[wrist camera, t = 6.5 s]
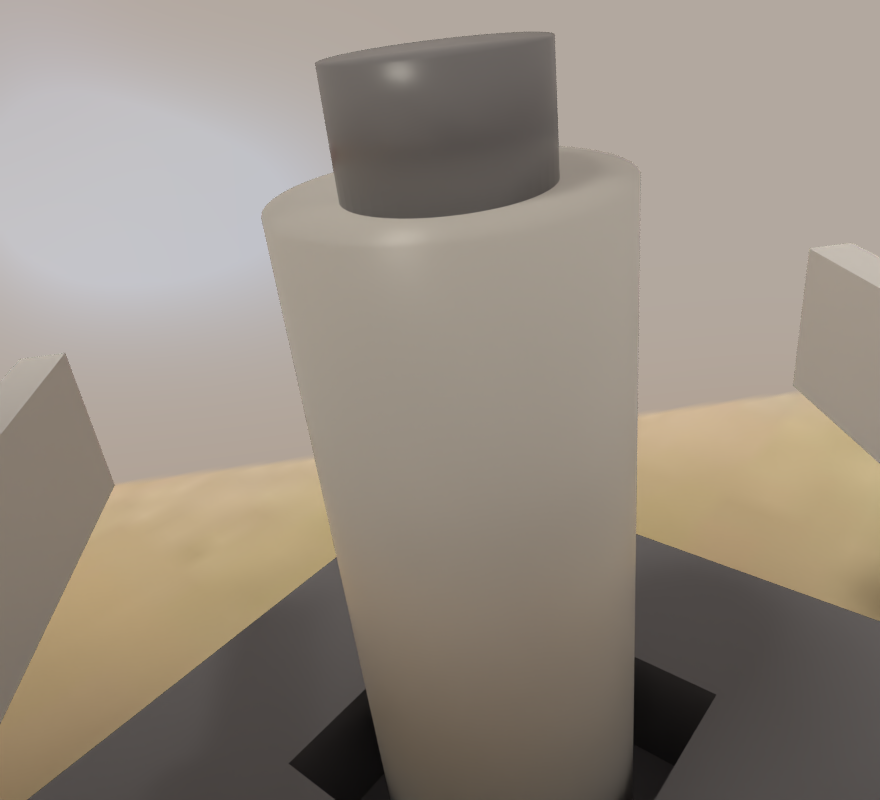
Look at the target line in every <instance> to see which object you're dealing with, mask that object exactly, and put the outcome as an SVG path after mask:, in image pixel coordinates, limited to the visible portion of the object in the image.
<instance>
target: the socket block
mask: <svg viewBox="0 0 880 800" xmlns="http://www.w3.org/2000/svg"><path fill="white" fill-rule="evenodd" d="M28 800H390V796H389V791H388V787H387V782H386V778H385V773H384V769H383V764H382V760H381V755H380V751H379V746H378V742H377V737H376V733H375V728H374V724H373V719H372V715H371V710H370V706H369V701H368V697H367V692H366V688H365V683H364V678H363V674H362V669H361V665H360V660H359V656H358V651H357V647H356V642H355V638H354V633H353V629H352V624H351V620H350V615H349V611H348V606H347V602H346V597H345V593H344V588H343V584H342V579H341V575H340V570H339V566H338V561H337V557H336V558H335V559H333V560H332V561H331V562H330V563H328V564H327V565H326V566H325V567H323V568H322V569H321V570H319V571H318V572H317V573H316V574H314V575H313V576H312V577H310V578H309V579H308V580H307V581H305V582H304V583H303V584H302V585H300V586H299V587H298V588H296V589H295V590H294V591H293V592H291V593H290V594H289V595H288V596H286V597H285V598H284V599H282V600H281V601H280V602H279V603H277V604H276V605H275V606H274V607H272V608H271V609H270V610H268V611H267V612H266V613H265V614H263V615H262V616H261V617H260V618H258V619H257V620H256V621H254V622H253V623H252V624H251V625H249V626H248V627H247V628H246V629H244V630H243V631H242V632H240V633H239V634H238V635H237V636H235V637H234V638H233V639H231V640H230V641H229V642H228V643H226V644H225V645H224V646H223V647H221V648H220V649H219V650H217V651H216V652H215V653H214V654H212V655H211V656H210V657H209V658H207V659H206V660H205V661H203V662H202V663H201V664H200V665H198V666H197V667H196V668H195V669H193V670H192V671H191V672H189V673H188V674H187V675H186V676H184V677H183V678H182V679H181V680H179V681H178V682H177V683H175V684H174V685H173V686H172V687H170V688H169V689H168V690H166V691H165V692H164V693H163V694H161V695H160V696H159V697H158V698H156V699H155V700H154V701H152V702H151V703H150V704H149V705H147V706H146V707H145V708H144V709H142V710H141V711H140V712H138V713H137V714H136V715H135V716H133V717H132V718H131V719H130V720H128V721H127V722H126V723H124V724H123V725H122V726H121V727H119V728H118V729H117V730H116V731H114V732H113V733H112V734H110V735H109V736H108V737H107V738H105V739H104V740H103V741H102V742H100V743H99V744H98V745H96V746H95V747H94V748H93V749H91V750H90V751H89V752H87V753H86V754H85V755H84V756H82V757H81V758H80V759H79V760H77V761H76V762H75V763H73V764H72V765H71V766H70V767H68V768H67V769H66V770H65V771H63V772H62V773H61V774H59V775H58V776H57V777H56V778H54V779H53V780H52V781H51V782H49V783H48V784H47V785H45V786H44V787H43V788H42V789H40V790H39V791H38V792H37V793H35V794H34V795H33V796H31V797H30V798H29V799H28ZM633 800H880V621H877V620H874V619H872V618H869V617H866V616H863V615H860V614H858V613H855V612H852V611H849V610H847V609H844V608H841V607H838V606H835V605H833V604H830V603H827V602H824V601H821V600H819V599H816V598H813V597H810V596H808V595H805V594H802V593H799V592H796V591H794V590H791V589H788V588H785V587H782V586H780V585H777V584H774V583H771V582H769V581H766V580H763V579H760V578H757V577H755V576H752V575H749V574H746V573H743V572H741V571H738V570H735V569H732V568H729V567H727V566H724V565H721V564H718V563H716V562H713V561H710V560H707V559H704V558H702V557H699V556H696V555H693V554H690V553H688V552H685V551H682V550H679V549H677V548H674V547H671V546H668V545H665V544H663V543H660V542H657V541H654V540H651V539H649V538H646V537H643V536H640V535H638V534H636V574H635V651H634V727H633Z"/></svg>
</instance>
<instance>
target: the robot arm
mask: <svg viewBox="0 0 880 800" xmlns="http://www.w3.org/2000/svg"><path fill="white" fill-rule="evenodd" d="M793 386H794V387H795V388H796V389H797V390H798V391H799V392H801V393H802V394H803V395H804V396H805V397H806V398H807V399H808V400H810V401H811V402H812V403H813V404H814V405H815V406H816V407H817V408H818V409H820V410H821V411H822V412H823V413H824V414H825V415H826V416H827V417H828V418H830V419H831V420H832V421H833V422H834V423H835V424H836V425H837V426H838V427H840V428H841V429H842V430H843V431H844V432H845V433H846V434H847V435H848V436H850V437H851V438H852V439H853V440H854V441H855V442H856V443H857V444H859V445H860V446H861V447H862V448H863V449H864V450H865V451H866V452H867V453H869V454H870V455H871V456H872V457H873V458H874V459H875V460H876V461H877V462H879V463H880V257H879V256H877V255H875V254H873V253H871V252H869V251H867V250H865V249H862V248H861V247H859V246H857V245H855V244H853V243H845V244H838V245H831V246H824V247H817V248H810V249H809V256H808V265H807V273H806V282H805V290H804V299H803V306H802V315H801V323H800V331H799V339H798V348H797V356H796V365H795V372H794V381H793ZM113 487H114V482H113V480H112V477H111V474H110V471H109V469H108V466H107V464H106V461H105V458H104V455H103V453H102V450H101V447H100V445H99V442H98V440H97V437H96V434H95V431H94V429H93V426H92V423H91V421H90V418H89V415H88V413H87V410H86V407H85V405H84V402H83V400H82V397H81V394H80V391H79V389H78V386H77V383H76V381H75V378H74V375H73V373H72V370H71V368H70V365H69V362H68V359H67V357H66V354H65V353H61V354H54V355H47V356H39V357H32V358H25V359H20V360H19V361H18V362H17V363H16V364H15V365H14V366H13V368H12V369H11V370H10V371H9V372H8V373H7V374H6V375H5V377H4V378H3V379H2V380H1V381H0V723H1V721H2V719H3V717H4V715H5V713H6V711H7V709H8V707H9V705H10V702H11V700H12V698H13V696H14V694H15V692H16V690H17V688H18V686H19V684H20V682H21V680H22V677H23V675H24V673H25V671H26V669H27V667H28V665H29V663H30V661H31V659H32V657H33V654H34V652H35V650H36V648H37V646H38V644H39V642H40V640H41V638H42V636H43V634H44V632H45V629H46V627H47V625H48V623H49V621H50V619H51V617H52V615H53V613H54V611H55V609H56V606H57V604H58V602H59V600H60V598H61V596H62V594H63V592H64V590H65V588H66V586H67V584H68V581H69V579H70V577H71V575H72V573H73V571H74V569H75V567H76V565H77V563H78V561H79V558H80V556H81V554H82V552H83V550H84V548H85V546H86V544H87V542H88V540H89V538H90V535H91V533H92V531H93V529H94V527H95V525H96V523H97V521H98V519H99V517H100V515H101V513H102V510H103V508H104V506H105V504H106V502H107V500H108V498H109V496H110V494H111V492H112V490H113Z"/></svg>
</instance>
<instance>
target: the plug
mask: <svg viewBox="0 0 880 800" xmlns="http://www.w3.org/2000/svg"><path fill="white" fill-rule="evenodd" d="M315 66H316V72H317V78H318V83H319V89H320V95H321V101H322V107H323V113H324V119H325V124H326V130H327V136H328V141H329V147H330V153H331V158H332V165H333V171H334V172H333V173H330V174H327V175H324V176H321V177H318V178H315V179H312V180H310V181H307V182H304V183H302V184H300V185H297V186H295V187H293V188H291V189H289V190H287V191H285V192H283V193H281V194H280V195H279V196H277V197H275V198H274V199H273V200H271V202H269V203H268V204H267V205H266V206H265V208H264V210H263V211H262V216H261V219H262V223H263V227H264V232H265V237H266V241H267V245H268V250H269V254H270V259H271V264H272V268H273V272H274V277H275V282H276V286H277V291H278V295H279V300H280V304H281V309H282V313H283V318H284V322H285V327H286V331H287V336H288V340H289V345H290V349H291V354H292V358H293V363H294V367H295V372H296V376H297V381H298V386H299V390H300V394H301V399H302V404H303V408H304V412H305V417H306V422H307V426H308V430H309V435H310V439H311V444H312V448H313V453H314V458H315V462H316V467H317V471H318V476H319V480H320V485H321V489H322V494H323V498H324V503H325V507H326V512H327V516H328V521H329V525H330V530H331V534H332V539H333V543H334V548H335V552H336V557H337V561H338V566H339V570H340V575H341V579H342V584H343V588H344V593H345V597H346V602H347V606H348V611H349V615H350V620H351V624H352V629H353V633H354V638H355V642H356V647H357V651H358V656H359V660H360V665H361V669H362V674H363V678H364V683H365V688H366V692H367V697H368V701H369V706H370V710H371V715H372V719H373V724H374V728H375V733H376V737H377V742H378V746H379V751H380V755H381V760H382V764H383V769H384V773H385V778H386V782H387V787H388V791H389V796H390V800H633V727H634V651H635V574H636V497H637V421H638V343H639V337H638V336H639V268H640V267H639V266H640V263H639V262H640V191H641V189H640V188H641V172H640V170H639V169H638V167H637V166H636V165H635V164H633V163H632V162H631V161H629V160H627V159H625V158H623V157H620V156H617V155H614V154H610V153H606V152H601V151H597V150H590V149H583V148H575V147H563V146H559V142H558V114H557V88H556V87H557V86H556V59H555V35H554V34H553V33H549V32H512V33H496V34H484V35H473V36H462V37H453V38H444V39H436V40H427V41H420V42H412V43H405V44H398V45H391V46H385V47H379V48H373V49H367V50H361V51H356V52H351V53H346V54H341V55H337V56H333V57H329V58H325V59H322V60H319V61H318V62H316V63H315Z"/></svg>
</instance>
